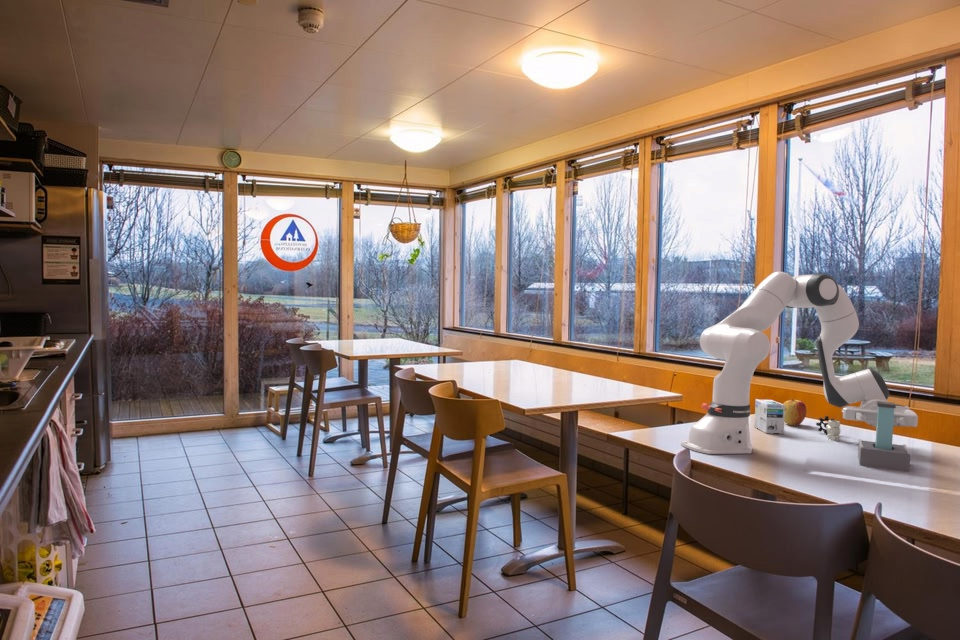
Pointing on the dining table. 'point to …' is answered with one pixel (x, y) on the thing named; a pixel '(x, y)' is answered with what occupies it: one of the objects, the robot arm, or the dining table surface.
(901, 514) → the dining table surface
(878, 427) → the plug
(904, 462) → the grey socket base
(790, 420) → the apple
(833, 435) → the valve
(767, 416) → the light bulb box
